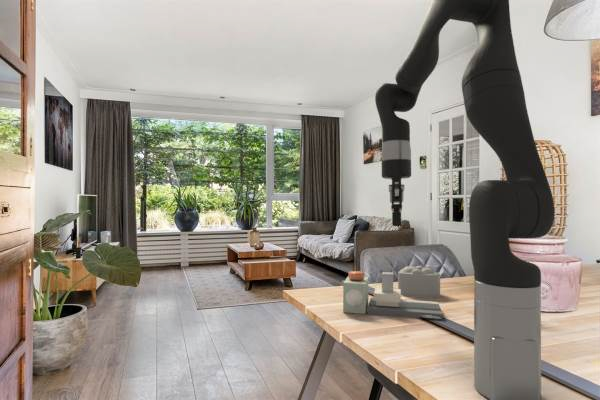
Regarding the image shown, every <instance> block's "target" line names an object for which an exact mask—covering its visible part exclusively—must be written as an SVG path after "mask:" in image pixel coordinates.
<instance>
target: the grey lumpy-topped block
mask: <svg viewBox="0 0 600 400" xmlns="http://www.w3.org/2000/svg"><path fill="white" fill-rule="evenodd" d="M397 289H401V296H405V297H413V298H423V299H424V298H427V299H428V298H438V297H441V273H440V272H438V271H435V270H434V269H433V268H431V267H424V266H423V265H417V266H412V265H411V266H409V265H408V266H405V267H403V268H402V269H400V270H399V271H398V273H397Z"/></svg>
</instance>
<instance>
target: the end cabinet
mask: <svg viewBox="0 0 600 400" xmlns="http://www.w3.org/2000/svg"><path fill="white" fill-rule="evenodd" d="M342 284H343V288H342V290H343V292H342V293H343V295H342V297H343V301H342V306H343V307H342V309H343V310H342V312H343V313H347V314H348V313H352V314H364V315H366V313H367V308H368V305H369V285H370V284H369V276H364V279H362V280H360V281H352V279H349V275H348V276H347V277H346V278H345V280H344V281H343V283H342Z"/></svg>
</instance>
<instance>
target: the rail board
mask: <svg viewBox="0 0 600 400" xmlns="http://www.w3.org/2000/svg"><path fill="white" fill-rule="evenodd" d="M366 313H367V315H375V316H376V315H377V316H389V317H401V318H417V319H421V318H420V315H432V316H437V317H440V318H443V319H444V314H443V311H442V309H441V305H440V303H439V301H429V300H428V301H427V300H425V301H424V300H412V299H411V300H410V299H401V303H400V302H399V307H392V306H378V305H376V301H374V297H370V299H369V301H368V307H367V311H366Z"/></svg>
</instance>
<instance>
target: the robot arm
mask: <svg viewBox="0 0 600 400" xmlns="http://www.w3.org/2000/svg"><path fill="white" fill-rule="evenodd" d="M450 20H453V21H459V22H465V23H471V24H472V25H473V26H474V27H475V30H476V35H477V47H476V50H475V52H474V54H473V55H472V57H470V60H469V62H468V63H467V65H466V68H465V70H464V71H463V75H462V78H461V91H462V96H463V97H462V98H463V104H464V111H465V114H466V117H467V118H468V120H469V122H470V124H471V126H472V127H473V128H474V129H475V131H476V132H477V133H478V134H479V135H480V136H481V138H482V139H483V140H484V142H486V143H487V145H489V147H490V148H491V149H492V150H493V151H494V153H495V154H496V156H497V157H498V160H499V161H500V163H501V165H502V168H503V171H504V174H505V178H506V180H505V179H487V180H486V179H485V180H482V181H480V182H478V183H476V185H475V186H474V188H473V189H472V191H471V194H470V197H469V198H470V199H469V203H468V204H469V205H468V220H469V234H470V235H469V238H470V256H471V261H472V267H473V272H474V274H473V275H474V276H473V281H474V282H473V283H474V284H473V286H474V287H473V289H474V291H473V292H474V296H473V327H474V328H473V342H474V343H473V356H474V357H473V362H474V363H473V364H474V365H473V366H474V367H473V370H474V372H473V376H474V377H473V379H474V381H473V385H474V389H476V391H477V392H478V393H480V394H481V395H482V396H483V397H486V398H487V399H489V400H542V310H541V308H542V273H541V269H540V267H539V266H538V265H537V264H535V263H533V262H530V261H527V260H525V259H521V258H520V257H517V256H516V255H515V254H514V253H513V252H512V250H511V247H510V239H512V240H513V239H522V240H523V239H524V240H525V239H539V238H542V237H545V236H546V235H547V234H549V232H550V231H551V229H552V227H553V225H554V220H555V203H554V202H555V201H554V197H553V193H552V190H551V186H550V184H549V180H548V176H547V175H546V171H545V169H544V166H543V163H542V160H541V157H540V154H539V151H538V148H537V145H536V142H535V137H534V133H533V129H532V124H531V121H530V117H529V113H528V108H527V104H526V97H525V90H524V86H523V81H522V77H521V72H520V69H519V64H518V60H517V55H516V52H515V51H516V50H515V45H514V38H513V31H512V24H511V22H512V21H511V13H510V0H432V2H431V4H430V6H429V9H428V11H427V13H426V15H425V18H424V20H423V22H422V25H421V27H420V29H419V32H418V34H417V36H416V39H415V41H414V43H413V45H412V47H411V49H410V50H409V52H408V54H407V55H406V57H405V58H404V60H403V61H402V63H401V65H400V66H399V68H398V69H397V71H396V73H395V77H394V78H395V83H390V82H386V83H384V82H383V83H382V84H380V86H379V87H378V88H377V89H376V92H375V96H374V100H375V107H376V110H377V113H378V116H379V121H380V125H381V128H382V132H381V133H382V136H381V137H382V144H381V178H383V179H386V180H387V179H388V180H391V184H388V192H389V203H391V206H390V210H391V216H392V217H391V219H392V222H391V223H392V226H393V227H401V226H402V211H403V204H402V203H404V192H405V184H402V180H403V179H409V178H411V177H412V149H411V136H410V135H411V129H410V127H411V126H410V122H409V121H408V120H407V119H405V118H401V117H399V116H398V115H397V114H396V113H395V112H400V113H407V112H409V111H411V110H412V109H414V107H416V106H415V105H416V104H417V101H418V97H419V95H420V92H421V89H422V87H423V85H424V83H425V82H426V81H427V79H428V78H429V77H430V76H431V75H432V73H433V72H434V70H435V69H436V67H437V65H438V62H439V56H440V33H441V31H442V29H443V28H444V27H445V25H446V24H447V23H448V21H450Z"/></svg>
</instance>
